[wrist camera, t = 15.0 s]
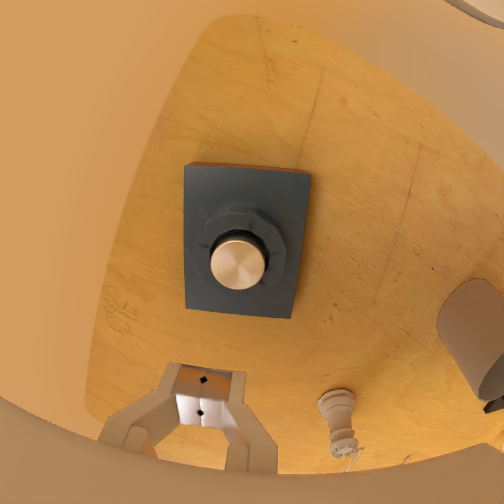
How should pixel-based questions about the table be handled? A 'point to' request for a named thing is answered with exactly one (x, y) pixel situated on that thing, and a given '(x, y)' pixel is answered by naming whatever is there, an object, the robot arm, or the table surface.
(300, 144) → the table surface
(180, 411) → the robot arm
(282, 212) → the button block
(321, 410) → the rook chess piece
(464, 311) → the cup
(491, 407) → the press bracket
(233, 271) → the gold dial knob
